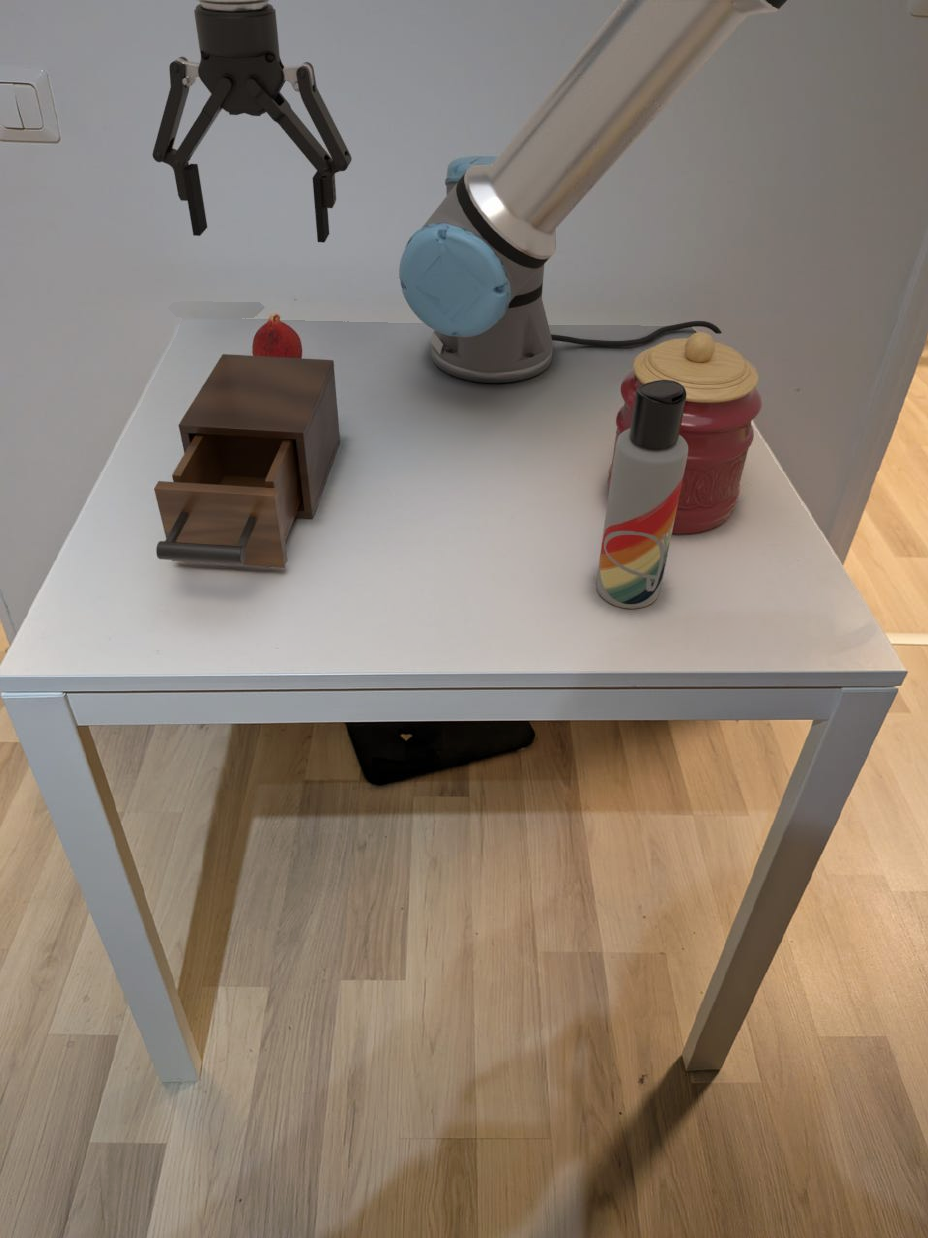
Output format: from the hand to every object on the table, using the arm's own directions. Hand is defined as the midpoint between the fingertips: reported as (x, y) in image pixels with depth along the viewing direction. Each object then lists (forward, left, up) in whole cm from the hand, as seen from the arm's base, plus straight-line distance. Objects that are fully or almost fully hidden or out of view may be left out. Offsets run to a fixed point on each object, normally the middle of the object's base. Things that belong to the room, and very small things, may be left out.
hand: (261, 234), depth 101 cm
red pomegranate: (0, 0, -17) cm, 17 cm away
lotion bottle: (-40, +36, -17) cm, 57 cm away
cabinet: (-4, +21, -17) cm, 27 cm away
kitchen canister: (-45, +21, -17) cm, 53 cm away
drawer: (-4, +34, -16) cm, 37 cm away
